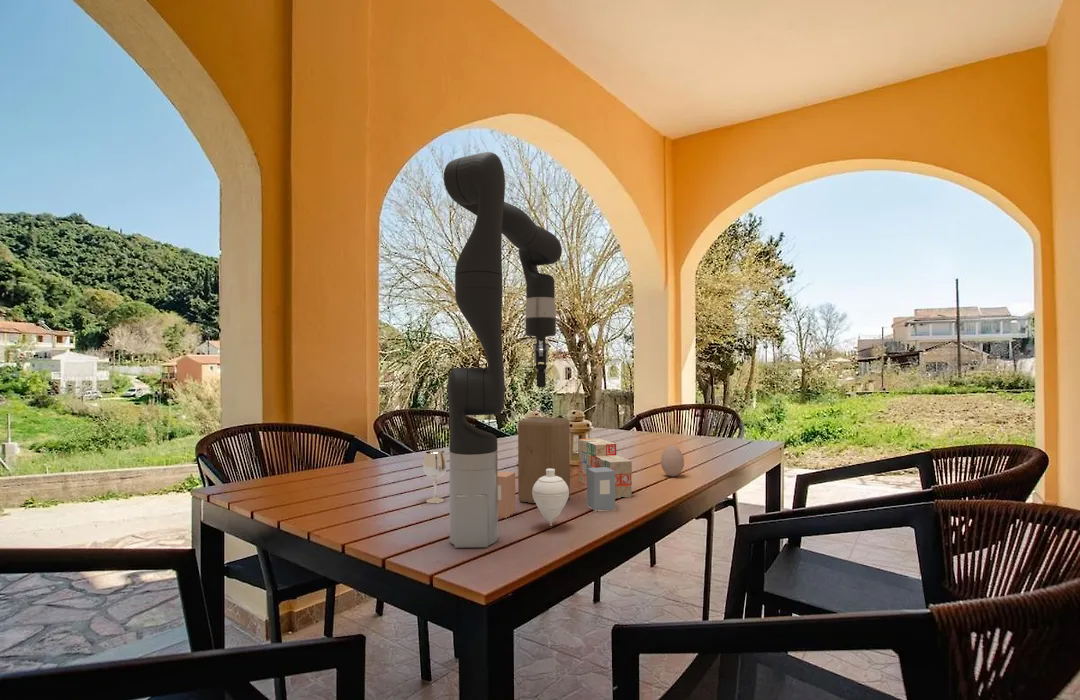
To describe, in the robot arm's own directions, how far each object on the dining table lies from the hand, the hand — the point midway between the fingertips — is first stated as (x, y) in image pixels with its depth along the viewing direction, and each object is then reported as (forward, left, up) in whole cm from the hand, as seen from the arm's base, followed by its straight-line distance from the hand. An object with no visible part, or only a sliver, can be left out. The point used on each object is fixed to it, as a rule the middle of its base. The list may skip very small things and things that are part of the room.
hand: (541, 387), depth 136 cm
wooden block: (+1, -1, -28) cm, 28 cm away
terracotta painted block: (-11, +9, -28) cm, 32 cm away
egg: (+27, -39, -28) cm, 55 cm away
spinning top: (-21, -2, -28) cm, 35 cm away
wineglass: (+1, +26, -28) cm, 39 cm away
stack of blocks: (+12, -17, -28) cm, 35 cm away
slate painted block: (-7, -14, -28) cm, 32 cm away
